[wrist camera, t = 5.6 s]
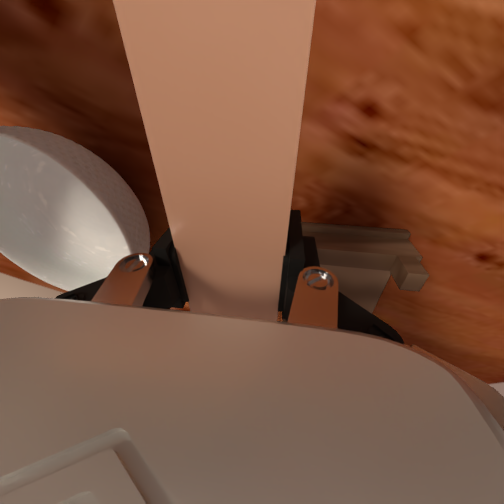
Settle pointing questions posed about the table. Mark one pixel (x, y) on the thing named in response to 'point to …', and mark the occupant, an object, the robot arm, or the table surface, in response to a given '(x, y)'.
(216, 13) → the pink rectangular bar
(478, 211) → the table surface
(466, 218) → the table surface
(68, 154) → the cereal bowl
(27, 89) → the table surface
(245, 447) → the robot arm
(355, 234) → the plate with corner blocks
